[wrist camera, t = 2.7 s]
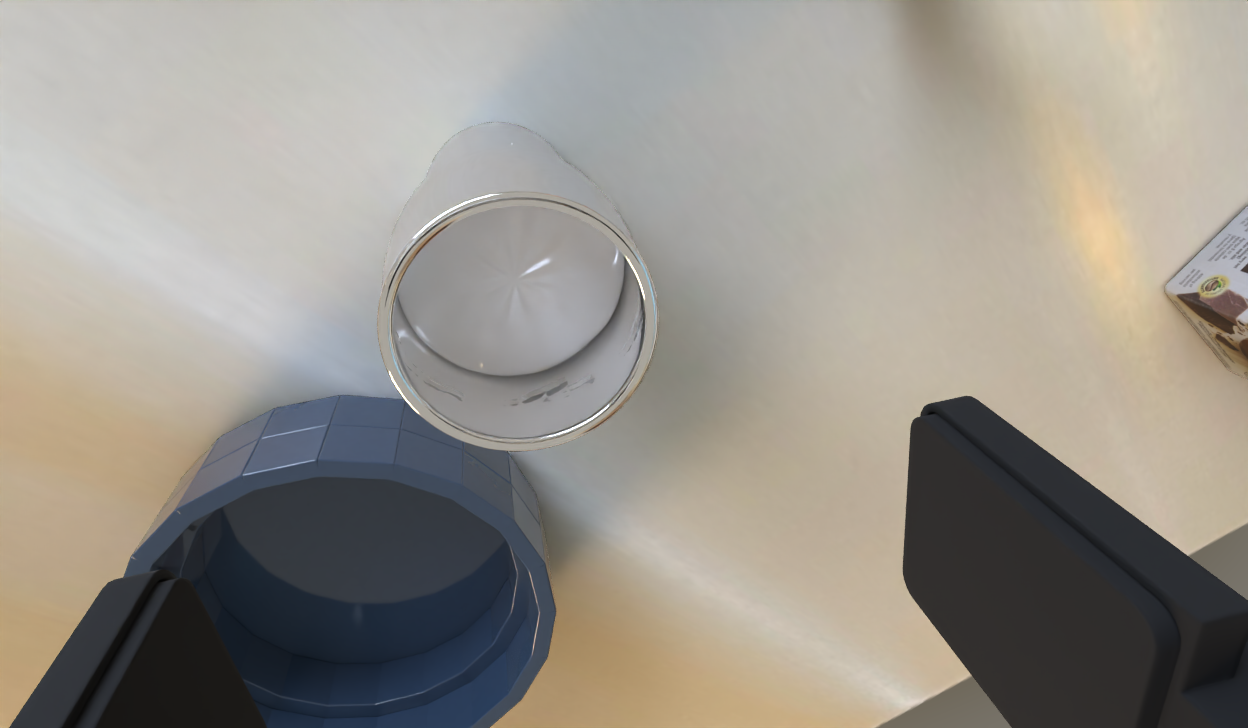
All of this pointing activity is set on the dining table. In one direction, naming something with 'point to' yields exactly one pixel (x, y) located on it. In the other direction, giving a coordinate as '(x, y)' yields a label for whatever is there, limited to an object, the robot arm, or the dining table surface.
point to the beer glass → (513, 296)
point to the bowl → (363, 567)
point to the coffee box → (1219, 294)
